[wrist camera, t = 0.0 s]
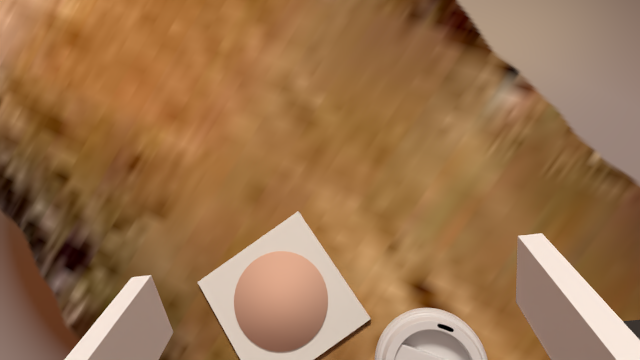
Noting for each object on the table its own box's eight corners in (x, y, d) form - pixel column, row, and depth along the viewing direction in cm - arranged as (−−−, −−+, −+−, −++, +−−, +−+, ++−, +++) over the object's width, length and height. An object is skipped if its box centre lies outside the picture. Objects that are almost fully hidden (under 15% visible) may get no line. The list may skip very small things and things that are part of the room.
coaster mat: (370, 318, 47) (370, 319, 47) (262, 395, 47) (260, 397, 46) (298, 212, 52) (297, 211, 51) (199, 282, 52) (196, 282, 51)
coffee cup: (475, 338, 45) (521, 368, 31) (424, 404, 45) (446, 467, 30) (409, 281, 48) (423, 285, 33) (359, 343, 47) (350, 375, 33)
